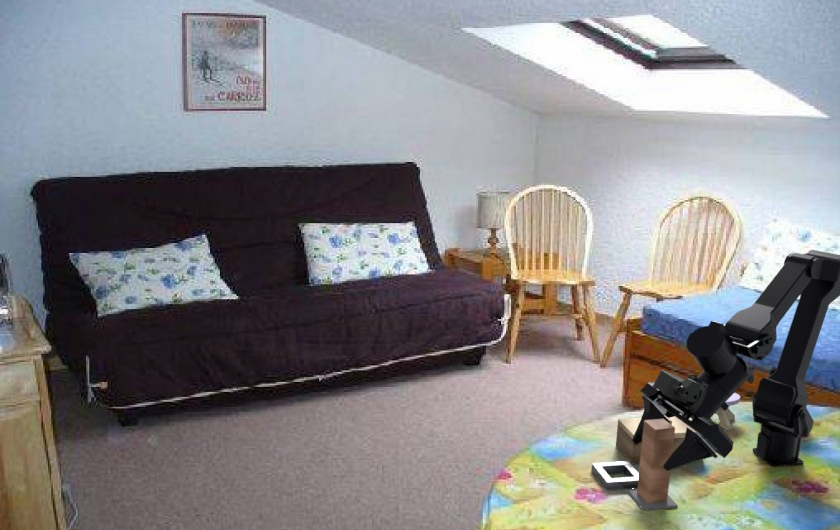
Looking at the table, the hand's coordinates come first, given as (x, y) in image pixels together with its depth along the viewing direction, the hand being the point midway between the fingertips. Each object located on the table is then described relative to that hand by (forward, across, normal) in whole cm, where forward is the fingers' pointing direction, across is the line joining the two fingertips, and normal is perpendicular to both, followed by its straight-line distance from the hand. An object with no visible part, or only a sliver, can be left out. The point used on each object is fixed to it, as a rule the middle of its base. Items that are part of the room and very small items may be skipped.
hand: (648, 455), depth 127 cm
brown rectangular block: (+4, 0, +6) cm, 8 cm away
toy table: (-16, -24, +28) cm, 40 cm away
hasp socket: (+6, -7, +5) cm, 11 cm away
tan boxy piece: (-2, -14, +14) cm, 20 cm away
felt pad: (+5, 0, +7) cm, 8 cm away
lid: (-6, -15, +11) cm, 19 cm away
